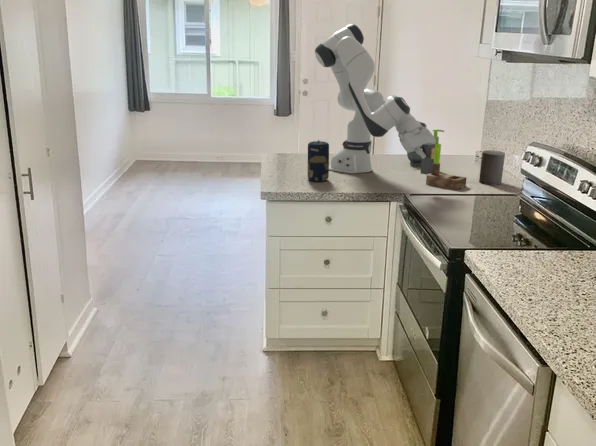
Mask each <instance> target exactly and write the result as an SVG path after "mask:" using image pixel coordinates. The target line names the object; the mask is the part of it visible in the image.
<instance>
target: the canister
mask: <svg viewBox="0 0 596 446" xmlns="http://www.w3.org/2000/svg"><path fill="white" fill-rule="evenodd" d="M329 164H330V144H329V142H327V141H323V140H322V141H321V140H319V139H318V140H316V141H315V140H314V141H310V142H308V143H307V179H308V180H310V181H313V182H325V181H327V180H328V179H329V176H330V174H329V171H330V170H329Z"/></svg>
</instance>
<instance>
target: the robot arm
mask: <svg viewBox="0 0 596 446" xmlns="http://www.w3.org/2000/svg"><path fill="white" fill-rule="evenodd" d="M363 34H364V33H363V32H362V29H361V28H360V27H359V26H358V25H356V24H355V23H354V24H353V23H349V24H347V25H345V26H344V27H342V28H340V29H339V30H338V31H337V30H336V31H334V33H332V34H331V35H330V36H329V37H328V38H326V39H325V40H324V41H323V42H322V43H319V44H318V45H317V46H316V47H315V49H314V54H315V58H316V60H317V62H318V63H319V64H320V65H321V66H322V67H324V68H330V69H331V71H332V74H333V76H334V78H335V79H336V82H337V84H338V86H339V87H338V88H339V91H338V93H337V103H338V105H339V107H341V108H343V109H345V110H347V111H353V112H354V116H353V119H352V120H350V121H349V122H348V123H347V130H346V131H347V135H346V139H345V140H344V141H343V142H342V144H341V145H342V146H343V147H342V148H341V149H340V150H338V151H337V152H336V153H334V154H333V155H332V157H331V160H330V162H329V171H332V172H340V173H345V174H359V173H360V174H362V173H368V172H371V171H373V166H372V161H371V152H372V141H371V136H373V137H376V138H382V137H384V136H385V135H386V134H387V133H388V132H389V131H390V130H391V129H392V128H394V127H395V129H396V132H397V133H398V138H399V142H400V144H401V146H402V147H403V149H404V150H405V151H406V153H407V152H408V153H409V152H413V151H415V152H416V153H417V154H419V155H420V156H421V157H422V158H423V159H424V158H426V157H427V155H426V153H424V152H423V151H422V146H423V144H427V143H432V144H435V143H436V140H435V138H434V134H433V133H432V132H431V131H430V130H429V129H428V128H427V127H428V126H427V124H426V123H424V122H422V121H420V120H417V119H416V118H415V117H414V115H412V114H411V107H410V106H409V105H408V104H407V102H406V100H405V99H404V98H403V97H401V96H397V95H390V96H388V97H386V98H385V99H384V96H383V94H382V92H380V91H378V90H375V89H373V88H368V87H367V86H368V84H369V82H370V81H371V80H372V77H373V75H374V72H375V68H376V66H375V62H374V61H375V60H373V58H372V56H371V55H370V53H369V51H368V50H367V49H366V48H365V47H364V46H363V44H364V40H365V37H364V35H363Z"/></svg>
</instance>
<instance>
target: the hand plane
mask: <svg viewBox="0 0 596 446" xmlns="http://www.w3.org/2000/svg"><path fill="white" fill-rule="evenodd" d="M440 169H441V162H440V163H434V166H433V173H430V174H427V175H426V179H425V184H426V185H427V184H428V186H433V187H434V186H435V187H440V188H445V189H451V190H455V191H456V190H457V191H459V190H460V189H463V188H466V187H467V177H466V176H459V175H454V174H446V173H441V170H440Z"/></svg>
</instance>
